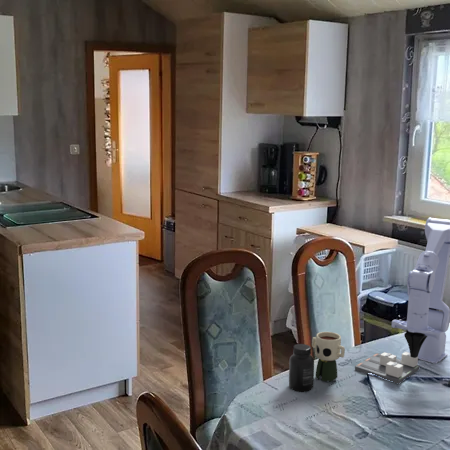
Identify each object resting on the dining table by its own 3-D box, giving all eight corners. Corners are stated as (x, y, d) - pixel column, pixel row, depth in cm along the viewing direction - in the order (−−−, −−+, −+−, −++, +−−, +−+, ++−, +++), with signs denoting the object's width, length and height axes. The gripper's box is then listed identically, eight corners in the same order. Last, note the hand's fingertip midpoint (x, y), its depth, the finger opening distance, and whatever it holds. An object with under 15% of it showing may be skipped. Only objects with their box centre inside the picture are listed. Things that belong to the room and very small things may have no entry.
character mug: (303, 376, 179) (305, 333, 176) (317, 369, 184) (320, 327, 182) (335, 388, 172) (337, 344, 169) (349, 380, 177) (351, 337, 174)
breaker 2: (404, 360, 187) (405, 351, 187) (417, 364, 185) (418, 354, 184) (401, 363, 185) (401, 353, 185) (413, 367, 183) (414, 357, 182)
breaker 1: (389, 370, 180) (390, 360, 179) (402, 375, 177) (403, 364, 177) (385, 373, 178) (386, 363, 177) (398, 377, 175) (399, 367, 175)
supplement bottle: (312, 383, 175) (314, 343, 172) (313, 393, 168) (315, 352, 166) (288, 381, 175) (290, 341, 173) (288, 392, 169) (290, 351, 166)
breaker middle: (383, 361, 186) (384, 351, 186) (395, 365, 184) (396, 355, 183) (379, 364, 185) (380, 354, 184) (391, 368, 182) (392, 357, 181)
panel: (377, 356, 194) (377, 352, 194) (419, 369, 185) (419, 365, 185) (354, 369, 184) (355, 365, 184) (398, 384, 175) (398, 380, 175)
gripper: (388, 308, 177) (384, 353, 180) (437, 321, 168) (432, 367, 170) (399, 303, 182) (395, 346, 185) (447, 315, 173) (443, 360, 176)
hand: (414, 356), depth 178 cm, fingers closed
